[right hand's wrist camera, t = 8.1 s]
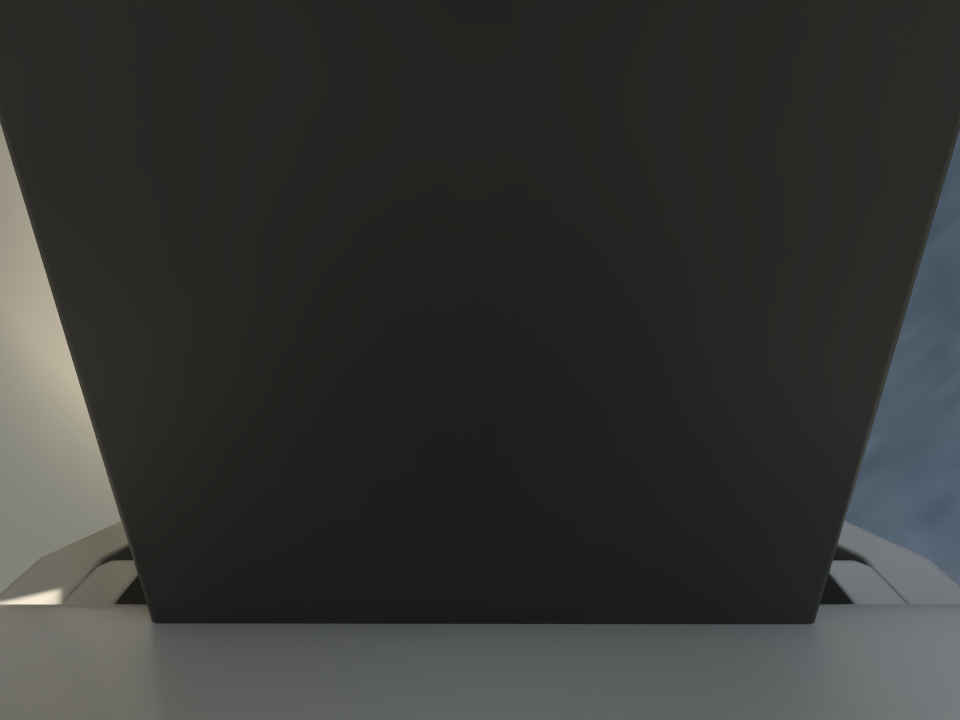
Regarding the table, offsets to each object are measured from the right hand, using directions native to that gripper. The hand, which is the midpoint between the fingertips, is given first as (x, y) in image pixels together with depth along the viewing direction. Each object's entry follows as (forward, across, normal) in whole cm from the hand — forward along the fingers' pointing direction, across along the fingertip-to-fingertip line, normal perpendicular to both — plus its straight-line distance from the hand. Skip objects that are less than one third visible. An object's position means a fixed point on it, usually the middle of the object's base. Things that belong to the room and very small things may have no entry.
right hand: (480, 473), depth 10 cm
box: (+7, 0, -7) cm, 10 cm away
